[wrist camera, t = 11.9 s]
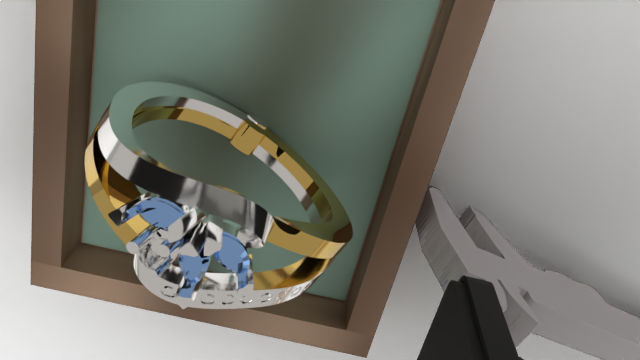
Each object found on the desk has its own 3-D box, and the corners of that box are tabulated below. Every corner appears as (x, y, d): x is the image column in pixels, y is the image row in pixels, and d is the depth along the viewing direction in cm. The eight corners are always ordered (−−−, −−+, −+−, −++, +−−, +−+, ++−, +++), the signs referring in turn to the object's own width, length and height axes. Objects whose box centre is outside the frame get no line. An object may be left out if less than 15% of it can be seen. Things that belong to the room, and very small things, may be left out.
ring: (134, 102, 18) (-8, 227, 11) (185, 20, 17) (64, 100, 10) (309, 220, 20) (286, 398, 12) (367, 153, 19) (379, 306, 11)
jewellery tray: (492, -58, 16) (514, -53, 14) (364, 314, 22) (366, 357, 20) (81, -167, 16) (39, -179, 14) (62, 247, 22) (30, 284, 20)
